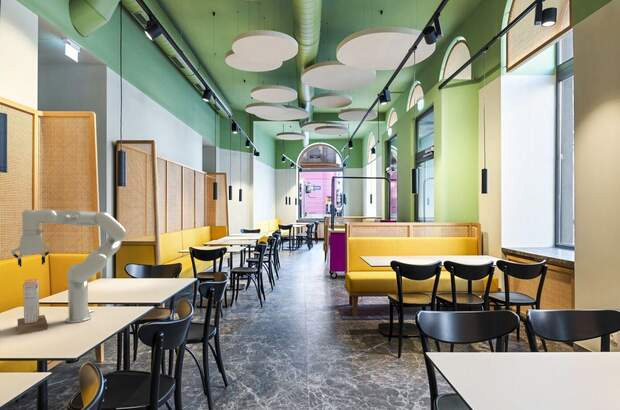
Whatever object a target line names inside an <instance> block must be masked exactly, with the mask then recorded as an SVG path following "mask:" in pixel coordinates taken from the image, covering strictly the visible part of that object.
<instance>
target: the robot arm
mask: <svg viewBox="0 0 620 410" xmlns="http://www.w3.org/2000/svg"><path fill="white" fill-rule="evenodd" d="M21 222H22V223H21V224H22V227H21V228H22V229H21V230H22V236H20V238H19V247H17V248H15V249H13V250H12V249H11V250H10V252H11V255H12V256H13V257H14V258H15V259H17V265H18V266H19V267H20V268H21V267H22V257H23V256H29V255H31V256H32V255H41V265H45V263H46V256H48V255H49V254H50V252H51V251H52V248H51V247H47V246H45V245H44V243H43V237H42V235H41V234H44V231H43V230H41V229H40V228H41V227H40V226H41V224H61V225H62V224H64V225H71V226H84V227H100V228H101V229H102V230H103V231H104V232H105V234H106V235H107V237H106V240H105V241H104V243H102V244H101V245H100V246H98V247H97V248H96V249H94V250H93V251H92V252H90V253H89V254H88V255H87V256H86V258H85V260H84V261H83V262H81V263H75V264H72V265H70V267H69V268H68V270H67V274H66V275H67V291H68V293H67V294H68V296H67V297H68V300H67V301H68V302H67V304H68V308H67V309H68V317H67V318H65V320H64V322H65V323H69V324H75V323H76V324H77V323H82V322H87V321H89V320H91V319H92V315H90V314H92V313H94V312H95V309H94V308H92V309H89V300H88V299H89V285H88V284H89V283H88V281H89V280H90V279H91V278H93V277H94V276H95V275H97V274H98V273H99V272H101V271H102V270H103V269H104V268H105V267H106V265H107V264H108V259H110V258H111V257H112V256H113V255H115V254H116V253H117V252H118V250H120V248H121V245H122V242H123V240H124V239H125V238H126V236H127V231H126V229H125V228H124V226H123V225H121V223H119V222H118V221H117V220H116V219H115V217H114V216H112V215H111V214H110V213H109V212H106V211H91V210H90V211H89V210H57V209H50V208H49V209H48V208H47V209H46V208H45V209H43V210H41V209H40V210H36V209H27V210H23V211H22V213H21ZM44 250H46V251H45V253H44ZM16 252H19V255H17V253H16Z"/></svg>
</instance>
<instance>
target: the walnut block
mask: <svg viewBox="0 0 620 410" xmlns="http://www.w3.org/2000/svg"><path fill="white" fill-rule="evenodd" d="M46 330H48V321H47V317H46V316H45V314H41V315H40V314H39V319H38V322H36V323H30V324H24V317H22V318H17V331H18V335H23V334H30V333H35V332H41V331H46Z"/></svg>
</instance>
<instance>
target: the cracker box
mask: <svg viewBox="0 0 620 410" xmlns="http://www.w3.org/2000/svg"><path fill="white" fill-rule="evenodd" d="M39 287H40V286H39V278H35V279H33V278H32V279H26V280H25V282H24V283H23V284H22V289H23V292H22V294H23V318H24V324H30V323H36V322H38V319H39V316H40V293H39V291H40V290H39V289H40V288H39Z"/></svg>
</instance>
